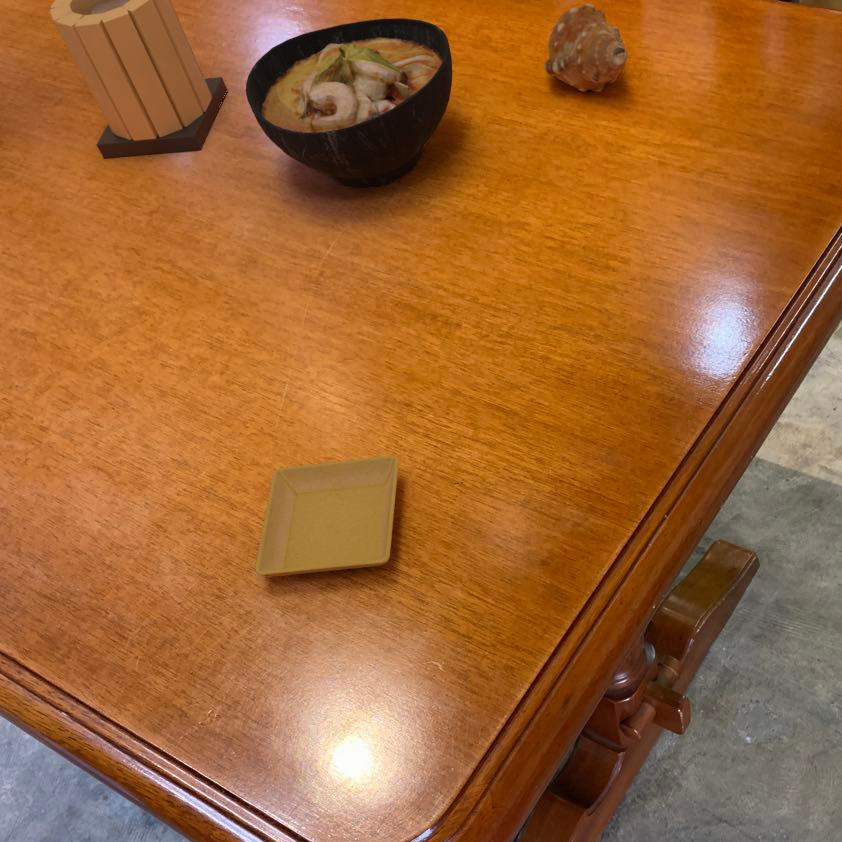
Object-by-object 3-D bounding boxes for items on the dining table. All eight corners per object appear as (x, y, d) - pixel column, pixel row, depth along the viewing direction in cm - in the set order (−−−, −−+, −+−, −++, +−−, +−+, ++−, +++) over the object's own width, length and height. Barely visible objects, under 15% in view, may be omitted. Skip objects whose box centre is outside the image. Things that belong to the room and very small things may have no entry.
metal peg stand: (103, 158, 99) (39, 42, 89) (136, 99, 104) (78, -16, 95) (200, 150, 97) (145, 30, 88) (228, 90, 103) (178, -28, 93)
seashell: (650, 92, 97) (667, 23, 87) (586, 144, 96) (596, 80, 86) (584, 24, 98) (594, -52, 88) (520, 74, 97) (523, 3, 87)
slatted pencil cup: (96, 144, 97) (33, 30, 89) (129, 85, 103) (73, -27, 94) (194, 135, 96) (140, 18, 87) (222, 76, 101) (174, -39, 93)
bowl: (318, 107, 98) (281, 2, 90) (490, 103, 94) (468, -7, 86) (255, 221, 89) (208, 115, 81) (443, 222, 85) (413, 111, 77)
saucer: (264, 592, 65) (252, 574, 63) (283, 486, 70) (272, 466, 68) (397, 581, 64) (388, 562, 62) (407, 474, 69) (399, 453, 67)
